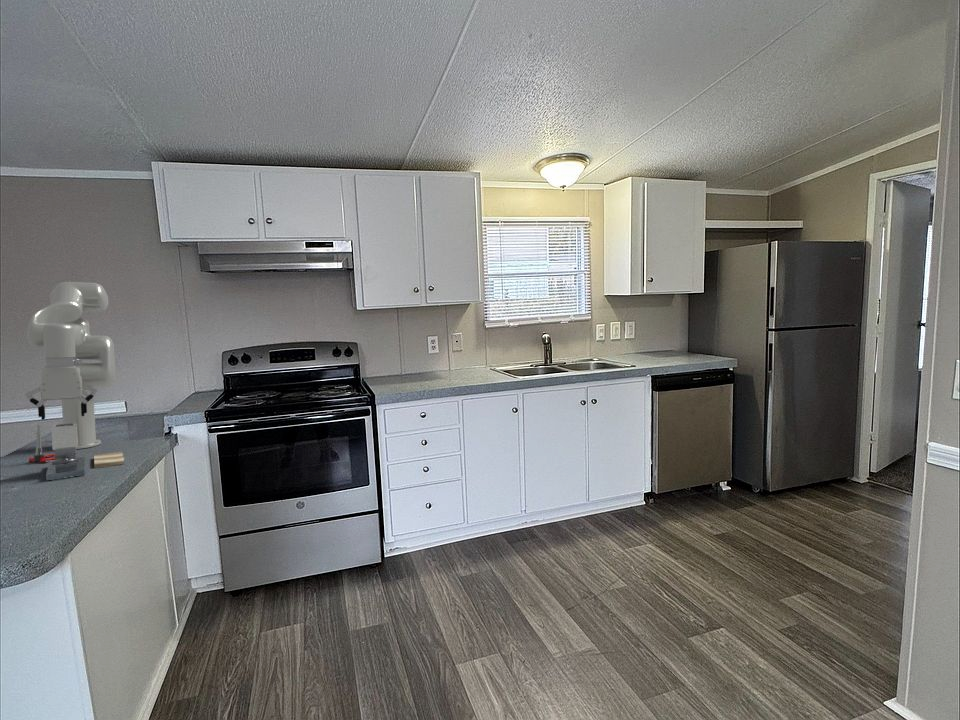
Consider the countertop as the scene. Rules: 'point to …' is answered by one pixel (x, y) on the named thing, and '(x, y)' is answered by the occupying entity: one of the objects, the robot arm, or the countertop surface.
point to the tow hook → (40, 450)
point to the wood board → (108, 459)
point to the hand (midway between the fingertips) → (63, 417)
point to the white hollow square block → (64, 436)
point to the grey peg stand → (65, 464)
